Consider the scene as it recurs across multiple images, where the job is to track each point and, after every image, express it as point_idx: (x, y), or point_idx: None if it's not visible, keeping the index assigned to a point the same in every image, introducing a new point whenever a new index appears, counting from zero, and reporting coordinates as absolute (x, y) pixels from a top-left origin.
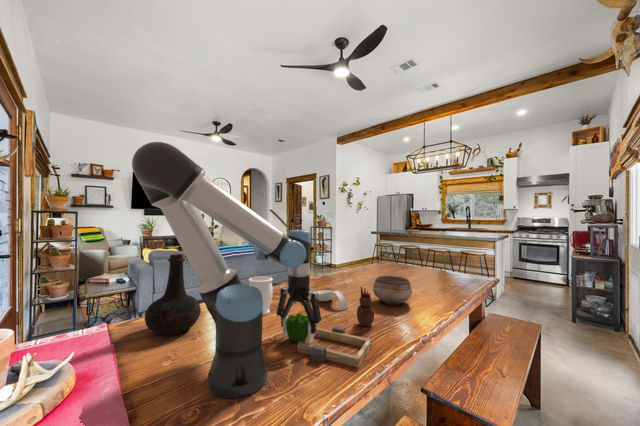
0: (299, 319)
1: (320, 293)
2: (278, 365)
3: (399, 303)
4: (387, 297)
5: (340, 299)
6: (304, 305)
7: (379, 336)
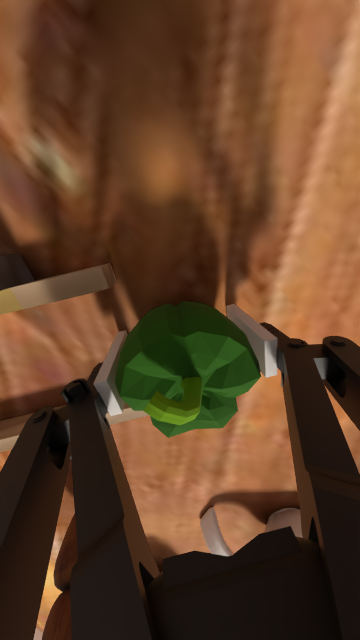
0: (179, 384)
1: None
2: (60, 89)
3: None
4: None
5: (221, 551)
6: (105, 529)
7: None
